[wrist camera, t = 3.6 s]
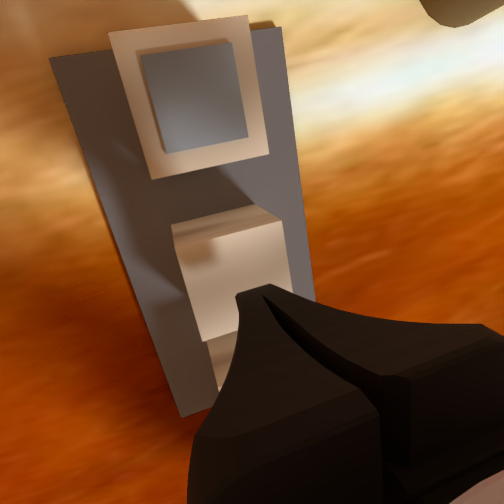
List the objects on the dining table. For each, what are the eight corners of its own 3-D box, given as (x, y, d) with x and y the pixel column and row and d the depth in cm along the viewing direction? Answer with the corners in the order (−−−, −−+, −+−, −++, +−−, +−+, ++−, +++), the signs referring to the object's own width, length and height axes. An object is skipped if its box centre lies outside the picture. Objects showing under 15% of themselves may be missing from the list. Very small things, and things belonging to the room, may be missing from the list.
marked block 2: (286, 372, 21) (315, 423, 17) (222, 396, 20) (237, 455, 16) (276, 316, 19) (306, 358, 16) (206, 339, 18) (218, 390, 15)
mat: (320, 361, 22) (323, 365, 22) (180, 413, 20) (181, 418, 20) (278, 29, 15) (281, 26, 14) (51, 60, 13) (48, 58, 12)
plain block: (268, 278, 18) (295, 311, 15) (193, 300, 17) (202, 341, 14) (254, 203, 17) (281, 220, 13) (170, 224, 16) (174, 248, 12)
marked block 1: (243, 152, 16) (270, 154, 12) (153, 171, 15) (151, 180, 11) (224, 48, 14) (249, 12, 10) (121, 63, 13) (106, 30, 9)
